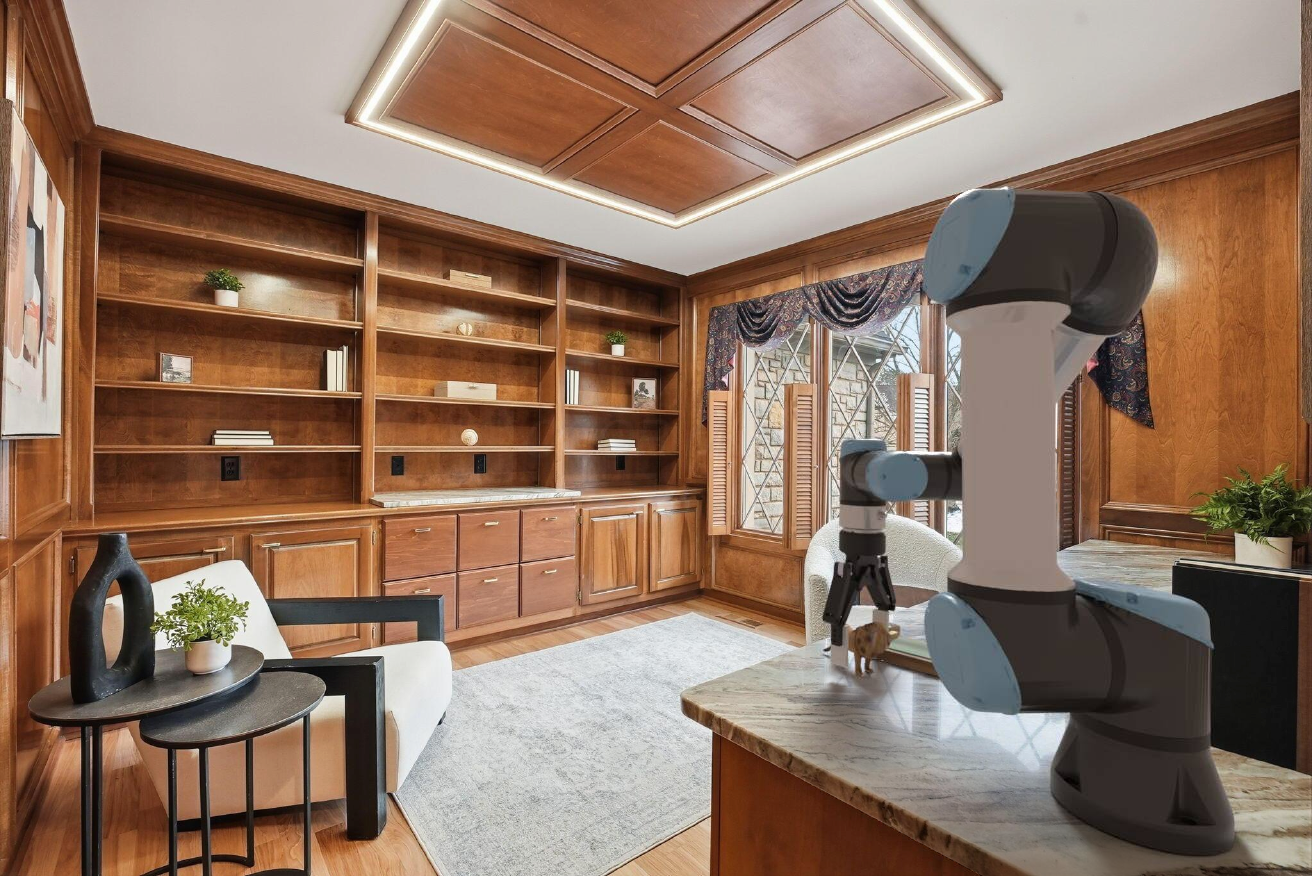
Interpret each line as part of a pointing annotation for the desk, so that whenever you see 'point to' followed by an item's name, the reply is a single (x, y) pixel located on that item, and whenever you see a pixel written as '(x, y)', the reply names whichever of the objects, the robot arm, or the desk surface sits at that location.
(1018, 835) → the desk surface
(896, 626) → the paperweight
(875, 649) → the lion figurine
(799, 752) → the desk surface
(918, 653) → the plinth
